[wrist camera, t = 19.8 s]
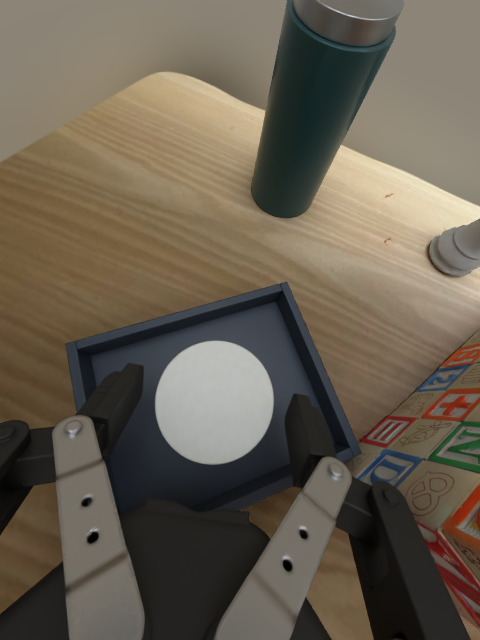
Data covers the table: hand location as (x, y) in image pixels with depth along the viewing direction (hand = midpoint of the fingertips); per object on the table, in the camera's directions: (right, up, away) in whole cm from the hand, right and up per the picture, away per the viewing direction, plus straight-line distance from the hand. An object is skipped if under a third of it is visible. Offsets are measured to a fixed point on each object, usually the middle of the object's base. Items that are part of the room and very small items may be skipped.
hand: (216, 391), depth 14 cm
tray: (-1, -2, +4) cm, 5 cm away
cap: (-1, -2, +4) cm, 4 cm away
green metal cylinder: (+5, +16, +11) cm, 20 cm away
